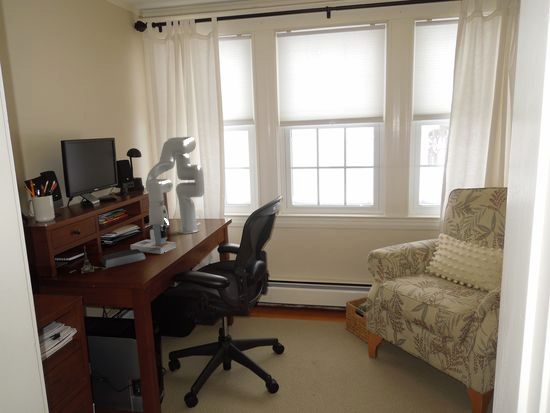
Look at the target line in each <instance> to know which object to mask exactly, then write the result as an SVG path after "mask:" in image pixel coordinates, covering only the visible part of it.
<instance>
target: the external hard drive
mask: <svg viewBox="0 0 550 413" xmlns="http://www.w3.org/2000/svg"><path fill="white" fill-rule="evenodd" d="M144 253H145V252H141V251H139V250H138V249H133V250H131V249H126V250H121V251H117V252H116V251H115V252H112V253H108V254H105V255H102V256H101V260H100V263H101V264H102V265H103V266H104V268H107V269H109V268H112V267H117V266H122V265H128V264H133V263H135V262H141V261H144V260H146V258H147V257H146V255H145V254H144Z"/></svg>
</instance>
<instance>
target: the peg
mask: <svg viewBox="0 0 550 413" xmlns="http://www.w3.org/2000/svg"><path fill="white" fill-rule="evenodd" d="M154 234H155V243H156V245H163V244H166V241H167V239H166V237H165V238H161V227H160V225H154Z"/></svg>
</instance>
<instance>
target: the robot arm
mask: <svg viewBox="0 0 550 413" xmlns="http://www.w3.org/2000/svg"><path fill="white" fill-rule="evenodd" d="M196 146H197V142H196V139H195V138H194V137H193V136H176V137H171V138H168V139H167V140H166V141H165V142H164V143H163V145H162V148H161V149H162V150H161V153H160V157H159V161H158V163H156V164H154V166H152V167H151V169H150V170H149V171H148V174H147V177H146V180H145V189H146V191H147V193H148V202H149V206H148V207H149V208H148V218H149V219H148V220H149V222H148V225H149V226H150V227H151V229H153V230H154V225H160V227H161V238H165V237H166V231H167V228H168V227H170V220H169V219H170V218H169V215H168V214H169V213H168V210H167V206H165V205H166V203H165V200H164V194H165V193H167V194H168V193H170V192H171V191H172V190H173V187H174V186H173V185H174V183H173V182H172V180H171V179H169V178H158V177H159V176H160V175H162V174H163V173H165V172H168V171H170V170H172V169H174V167H175V164H176V175H177V178H178V179H179V181H191V182H179V183H178V184H177V185H176V186H175V191H176V195H177V199H178V200H177V201H178V205H179V217H180V218H179V219H180V224H181V225H180V227H181V229H179V231H178V232H179V233H180V234H182V235H185V234H186V235H187V234H194V233H197V232H199V231H200V228H199V226H200V227H201V225H202V224H201V222H197V217H196V216H197V215H196V207H195V206H196V204H195V201H194V200H193V199H192V198H202V197H204V196H205V179H204V171H203V170H204V169H203V168H202V166H201V165H200V164H191V158H190V155H189V154H190V153H192V152H194V150H195V149H196ZM193 181H194V182H193ZM165 230H166V231H165ZM154 236H155V234H154Z"/></svg>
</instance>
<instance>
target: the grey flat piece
mask: <svg viewBox="0 0 550 413" xmlns="http://www.w3.org/2000/svg"><path fill="white" fill-rule="evenodd" d="M176 248H177V242H175V241H167V240H166V244H163V245H156V243H155V240H151V239H144V240H141V241H137V242H135V243H133V244H130V250H133V249H138V250H139V251H141V252H142V253H152V254H158V255H159V254H160V255H161V254H165V253H166V252H167V253H168V252H169V251H172V250H174V249H176ZM164 252H165V253H164Z"/></svg>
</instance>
